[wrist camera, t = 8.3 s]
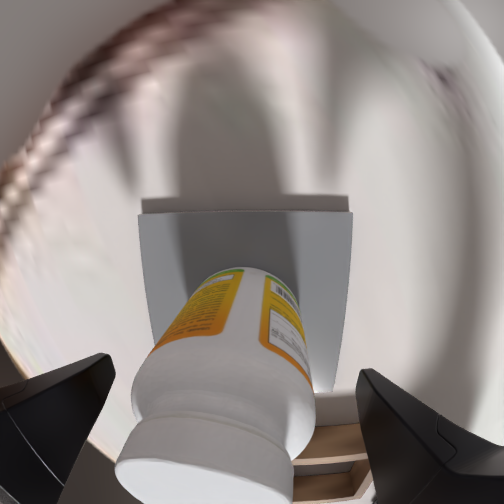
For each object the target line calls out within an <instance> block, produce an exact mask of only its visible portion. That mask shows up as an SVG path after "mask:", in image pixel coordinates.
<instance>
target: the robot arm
mask: <svg viewBox="0 0 504 504" xmlns="http://www.w3.org/2000/svg"><path fill="white" fill-rule="evenodd" d="M115 375H116V372H115V368H114V365H113V362H112V359H111V356H110V355H109V354H105V353H98V354H95V355H93V356H90V357H88V358H85V359H82V360H80V361H77V362H74V363H72V364H69V365H66V366H64V367H61V368H58V369H55V370H53V371H50V372H47V373H44V374H41V375H39V376H36V377H33V378H30V379H27V380H24V381H21V382H18V383H15V384H12V385H8V386H5V387H0V504H57V502H58V500H59V498H60V495H61V493H62V491H63V488H64V485H65V484H66V481H67V479H68V477H69V475H70V473H71V470H72V468H73V466H74V464H75V462H76V460H77V458H78V456H79V454H80V451H81V450H82V448H83V446H84V443H85V442H86V440H87V438H88V436H89V434H90V432H91V430H92V428H93V426H94V424H95V422H96V420H97V418H98V416H99V414H100V412H101V410H102V408H103V406H104V404H105V401H106V399H107V396H108V394H109V391H110V389H111V386H112V384H113V381H114V379H115ZM356 399H357V406H358V413H359V421H360V428H361V432H362V436H363V440H364V444H365V448H366V452H367V456H368V460H369V464H370V468H371V473H372V477H373V481H374V486H375V490H376V495H377V500H376V502H375V503H374V504H504V446H500V445H496V444H494V443H492V442H489V441H487V440H485V439H483V438H481V437H479V436H477V435H475V434H473V433H471V432H469V431H467V430H465V429H463V428H461V427H459V426H458V425H456V424H454V423H453V422H451V421H449V420H448V419H446V418H445V417H443V416H442V415H439V414H438V413H437V412H436V411H434V410H433V409H431V408H430V407H428V406H427V405H425V404H424V403H422V402H421V401H419V400H418V399H416V398H415V397H413V396H412V395H410V394H409V393H407V392H406V391H404V390H403V389H401V388H400V387H399V386H397V385H396V384H394V383H393V382H391V381H390V380H388V379H387V378H385V377H384V376H383V375H381V374H380V373H378V372H377V371H375V370H374V369H372V368H369V369H362V370H360V373H359V376H358V381H357V385H356Z"/></svg>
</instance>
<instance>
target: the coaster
mask: <svg viewBox="0 0 504 504" xmlns="http://www.w3.org/2000/svg"><path fill="white" fill-rule="evenodd" d="M138 225H139V238H140V249H141V258H142V267H143V276H144V283H145V291H146V298H147V304H148V310H149V316H150V322H151V328H152V333H153V339H154V344H155V345H156V344H157V343H158V341H159V340H160V338H161V337H162V336H163V334H164V333H165V332H166V330H167V329H168V327H169V326H170V325H171V323H172V322H173V321H174V319H175V318H176V316H177V315H178V314H179V312H180V311H181V310H182V308H183V307H184V306H185V304H186V303H187V302H188V300H189V299H190V297H191V296H192V294H193V293H194V292H195V290H196V289H197V288H198V287H199V286H200V285H201V284H202V283H203V282H204V281H205V280H206V279H207V278H208V277H210V276H211V275H213V274H215V273H217V272H220V271H222V270H226V269H229V268H235V267H250V268H256V269H260V270H263V271H266V272H268V273H270V274H272V275H274V276H276V277H277V278H278V279H280V280H281V281H282V282H283V283H284V284H285V285H286V286H287V287H288V288H289V289H290V290H291V292H292V293H293V295H294V296H295V298H296V301H297V303H298V306H299V309H300V313H301V317H302V323H303V329H304V334H305V340H306V346H307V352H308V359H309V365H310V372H311V378H312V384H313V390H314V393H318V392H333V387H334V382H335V377H336V371H337V366H338V360H339V354H340V348H341V341H342V334H343V327H344V319H345V311H346V303H347V294H348V284H349V273H350V260H351V245H352V225H353V213H352V212H347V211H298V210H243V211H194V212H166V213H144V214H139V215H138Z"/></svg>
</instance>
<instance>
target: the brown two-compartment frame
mask: <svg viewBox="0 0 504 504" xmlns="http://www.w3.org/2000/svg"><path fill="white" fill-rule="evenodd" d="M347 461H355V462H354V464H353V466H352V468H351V470H350V472H346V473H338V474H328V475H315V476H294V477H293V501H292V504H321V503H331V502H340V501H347V500H354V499H360V498H361V497H362V496H363V494H364V493H365V491H366V490H367V488H368V487H369V485H370V484H371V482H372V481H373V477H372V473H371V468H370V464H369V460H368V456H367V452H366V448H365V444H364V440H363V436H362V432H361V428H360V423H357V424H348V425H338V426H325V427H315V428H314V432H313V435H312V437H311V439H310V441H309V443H308V444H307V446H306V447H305V449H304V450H303V451H302V452H301V453H300V454H299V455H298V456H297V457H296V458H295V459H293V460H292V461H291V462H292V465H314V464H327V463H338V462H347Z"/></svg>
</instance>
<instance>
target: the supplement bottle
mask: <svg viewBox="0 0 504 504" xmlns="http://www.w3.org/2000/svg"><path fill="white" fill-rule="evenodd" d="M131 403H132V409H133V413H134V415H135V418H136V420H137V422H138V424H137V425H136V427H135V428H134V429H133V430H132V431H131V433H130V435H129V437H128V439H127V441H126V443H125V445H124V447H123V449H122V451H121V453H120V455H119V457H118V459H117V461H116V464H115V474H116V477H117V479H118V480H119V482H120V483H121V484H122V485H123V487H124V488H125V489H126V490H128V492H130V493H131V494H132V495H133V496H135V497H136V498H137V499H139V500H140V501H142V502H143V503H145V504H292V501H293V477H294V468H293V465H292V462H291V461H292V460H293V459H295V458H296V457H297V456H298V455H299V454H300V453H301V452H302V451H303V450H304V449H305V447H306V446H307V444H308V443H309V441H310V439H311V437H312V435H313V432H314V428H315V422H316V409H315V398H314V390H313V384H312V378H311V372H310V365H309V359H308V352H307V346H306V340H305V334H304V329H303V323H302V317H301V313H300V309H299V306H298V303H297V301H296V298H295V296H294V295H293V293H292V292H291V290H290V289H289V288H288V287H287V286H286V285H285V284H284V283H283V282H282V281H281V280H280V279H278V278H277V277H276V276H274V275H272V274H270V273H268V272H266V271H263V270H260V269H256V268H250V267H235V268H229V269H226V270H222V271H220V272H217V273H215V274H213V275H211V276H210V277H208V278H207V279H206V280H205V281H204V282H203V283H202V284H201V285H200V286H199V287H198V288H197V289H196V290H195V292H194V293H193V294H192V296H191V297H190V299H189V300H188V302H187V303H186V304H185V306H184V307H183V308H182V310H181V311H180V312H179V314H178V315H177V316H176V318H175V319H174V321H173V322H172V323H171V325H170V326H169V327H168V329H167V330H166V332H165V333H164V334H163V336H162V337H161V338H160V340H159V341H158V343H157V344H156V345H155V347H154V348H153V349H152V351H151V352H150V354H149V355H148V357H147V358H146V359H145V361H144V362H143V364H142V366H141V367H140V369H139V371H138V372H137V374H136V376H135V379H134V382H133V385H132V390H131Z"/></svg>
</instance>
